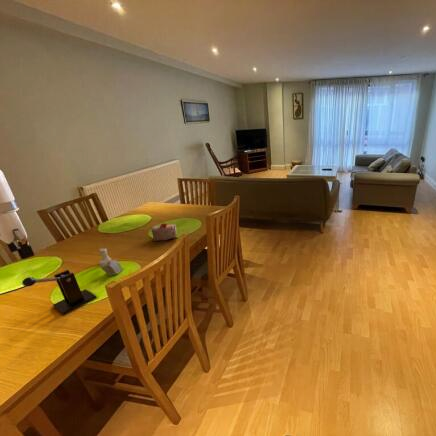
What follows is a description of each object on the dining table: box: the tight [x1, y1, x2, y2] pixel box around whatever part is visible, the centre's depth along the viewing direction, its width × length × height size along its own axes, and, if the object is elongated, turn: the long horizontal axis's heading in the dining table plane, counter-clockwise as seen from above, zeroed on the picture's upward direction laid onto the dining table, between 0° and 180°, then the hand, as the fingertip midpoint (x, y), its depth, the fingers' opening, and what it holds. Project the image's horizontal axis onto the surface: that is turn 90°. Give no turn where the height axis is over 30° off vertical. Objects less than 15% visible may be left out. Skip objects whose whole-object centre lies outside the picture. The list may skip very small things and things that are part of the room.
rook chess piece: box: [98, 247, 112, 261], centre depth 124 cm, size 4×4×8 cm
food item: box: [151, 222, 178, 242], centre depth 150 cm, size 14×8×10 cm, turn 108°
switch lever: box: [21, 274, 68, 287], centre depth 89 cm, size 13×3×3 cm, turn 152°
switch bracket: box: [52, 269, 97, 316], centre depth 95 cm, size 11×9×14 cm
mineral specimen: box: [98, 259, 123, 277], centre depth 115 cm, size 7×9×8 cm
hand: (22, 253), depth 83 cm, fingers open, 9 cm apart
